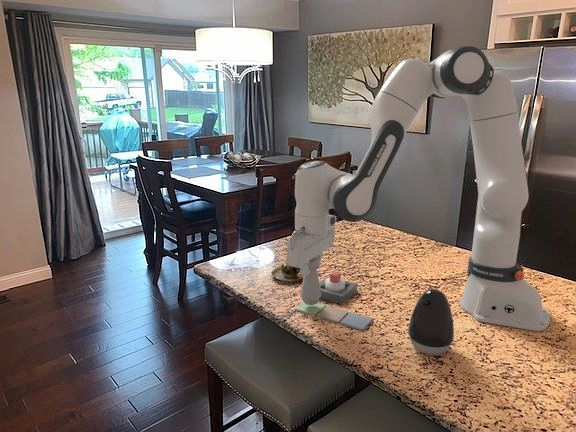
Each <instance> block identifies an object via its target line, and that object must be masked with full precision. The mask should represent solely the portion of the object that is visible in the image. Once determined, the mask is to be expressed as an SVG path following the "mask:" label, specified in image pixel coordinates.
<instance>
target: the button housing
mask: <svg viewBox="0 0 576 432" xmlns="http://www.w3.org/2000/svg"><path fill="white" fill-rule="evenodd" d="M329 277H330V276H327V277H326V278H324V279H323V280H322V281H319V284H320V289H321V297H320V299H322V300H325V301H329V302H332V303H335V304H339V305H344V304H345V303H346V302H347V301H348V300H349V299H350V298H352V296H353V295H354V294H356V293H357V292H358V283H355V282H351V281H348V280H345V290H344V291H342V292H341V293H337V292H333V291H330V290H326V289H325V279H327V278H329Z"/></svg>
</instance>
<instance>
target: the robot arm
mask: <svg viewBox="0 0 576 432" xmlns="http://www.w3.org/2000/svg"><path fill="white" fill-rule="evenodd" d="M514 91H515V90H514V86H513V84H512V81H511V79H510V76H509V75H508V74H507V73H506V72H504V71H501V70H494V68H493V66H492V65H491V64H490V62H489V59H488V57H487V56H486V55H485V53H484V52H483V51H482V50H481V49H479V48H478V47H476V46H472V45H461V46H456V47H455V48H452V49H450V50H447V51H445V52H443V53H442V54H440V55H439V56H438V57H436V58H434V59H433V60H431V61H430V62H428V63H427V62H425V61H423V60H421V59H420V58H419V59H418V58H414V57H413V58H411V57H409V58H406V59H404V60H402V61H400V63H399V64H397V66H396V67H395V69H394V70H393V71H392V72H391V73H390V75H389V76H388V78H387V79H386V81H385V82H384V83H383V85H382V86H381V88H380V90H379V91H378V92H377V95H376V96H375V98H374V100H373V102H372V105H371V107H370V109H369V113H368V116H367V117H368V124H369V127H370V130H371V142H370V145H369V147H368V149H367V151H366V153H365V156H364V157H363V159H362V161H361V163H360V164H359V167H358V168H357V170H356V172H355V174H354V175H353V174H352V173H349V172H345V171H342V170H339V169H338V168H334V167H332V166H331V165H330V164H328V163H327V162H326V161H322V160H313V161H309V162H305V163H303V164H301V165H300V166H299V167H298V169H297V171H296V173H295V180H294V181H295V182H294V198H295V202H296V206H295V209H294V231H292V233H291V234H292V235H291V236H290V237H289V239H288V240H287V244H286V256H285V257H286V258H285V260H286V262H287V264H288V265H289V266H292V267H296V268H299V267H300V268H302V274H303V275H305V276H308V275H309V274H310V268H309V267H308V264H309V261H310V260H311V259H313V258H314V257H315V258H317V259H318V260H319V266H318V268H317V270H318V269H320V268H321V261H322V258H323V255H324V252H325V251H327V250H328V249H330V248H331V247H333V246H334V243H335V236H336V224H337V216H338V217H339V218H340V219H341V220H343V221H346V222H350V223H358V222H362V221H364V220H365V219H367V218H369V217H370V216H371V214H372V213H373V211H375V207H376V206H377V205H376V203H377V199H378V192H379V189H380V186H381V185H382V183H383V180H384V179H385V176H386V175H387V172H388V171H389V169H390V167H391V165H392V163H393V161H394V160H395V159H394V158H395V156H396V155H397V153H398V150H399V149H400V147H401V144H402V143H403V139H404V138H405V136H406V134H407V131H408V130H409V129H410V126H411V125H412V123H413V121H414V120H415V118H416V116H417V115H418V113H419V112H420V110H421V108H422V106H423V105H424V102H426V100H427V99H429V97H432V98H433V97H434V98H437V99H448V98H457V97H459V96H460V97H461V98H462V99H463V100H464V102H465V103H466V106H467V110H468V119H469V127H470V134H471V142H472V149H473V156H474V157H473V158H474V167H475V175H476V176H475V177H476V184H477V185H476V186H477V192H478V194H477V195H478V196H477V204H476V213H475V222H474V230H473V240H472V247H471V248H472V249H471V255H470V257H469V259H468V262H467V279H466V284H465V288H464V291H463V293H462V296H461V297H460V300H459V302H458V303H459V305H460V307H461V308H462V309H463V310H464V311H466V312H467V313H469V314H470V315H472V317H473V318H474V319H475V320H477V321H478V322H481V323H485V324H486V323H488V324H492V325H498V326H504V327H510V328H515V329H523V330H528V331H534V332H543V331H546V329H548V327H549V326H550V323H551V316H550V315H551V314H550V311H548V309H547V308H546V307H544V306H543V302H542V301H543V300H542V297H541V294H540V293H539V291H538V290H537V289H536V288H535V287H533V286H532V284H530V283H529V282H527V280H525V278H524V276H525V274H524V266H523V264H521V265H520V264H519V263H517V257H518V256H517V255H518V250H519V244H520V238H521V223H522V213H523V211H524V209H525V208H526V206H527V204H528V201H529V188H528V181H527V172H526V165H525V158H524V153H523V152H524V151H523V146H522V138H521V130H520V128H521V127H520V121H519V120H520V119H519V112H518V104H517V98H516V95H515V94H516V93H515V92H514ZM332 209H334V211H335V213H336V214H337V216H336V215H332V214H330V213H329V210H332ZM286 262H285V263H286ZM287 264H286V265H287ZM288 265H287V266H288Z"/></svg>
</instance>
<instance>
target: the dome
mask: <svg viewBox="0 0 576 432" xmlns="http://www.w3.org/2000/svg"><path fill="white" fill-rule="evenodd" d="M341 274H342V273H341V272H338V271H334V270H333V271H331V273H329V276H328V277H329V278H327V277H326V278H327V279H325V278H324V279H325V289H326V290H330V291H333V292H337V293H341V292H342V291H344V290H345V281H346V280H345V279H344V278H342V277H341V276H342V275H341Z"/></svg>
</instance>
